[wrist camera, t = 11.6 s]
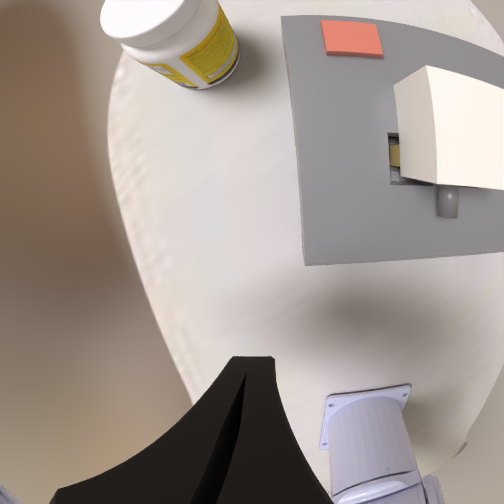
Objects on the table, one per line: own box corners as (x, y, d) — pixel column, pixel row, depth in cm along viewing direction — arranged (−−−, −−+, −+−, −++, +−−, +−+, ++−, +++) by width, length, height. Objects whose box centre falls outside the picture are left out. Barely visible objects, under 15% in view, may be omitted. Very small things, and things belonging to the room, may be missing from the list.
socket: (496, 240, 15) (520, 253, 12) (302, 251, 17) (305, 270, 14) (486, 63, 11) (509, 55, 8) (281, 33, 13) (280, 11, 10)
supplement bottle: (237, 22, 13) (202, -56, 5) (245, 83, 14) (207, 22, 6) (167, 38, 14) (97, -16, 6) (170, 97, 15) (87, 64, 7)
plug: (453, 206, 14) (509, 229, 9) (388, 205, 15) (434, 230, 10) (449, 102, 12) (504, 89, 7) (382, 92, 13) (426, 65, 7)
